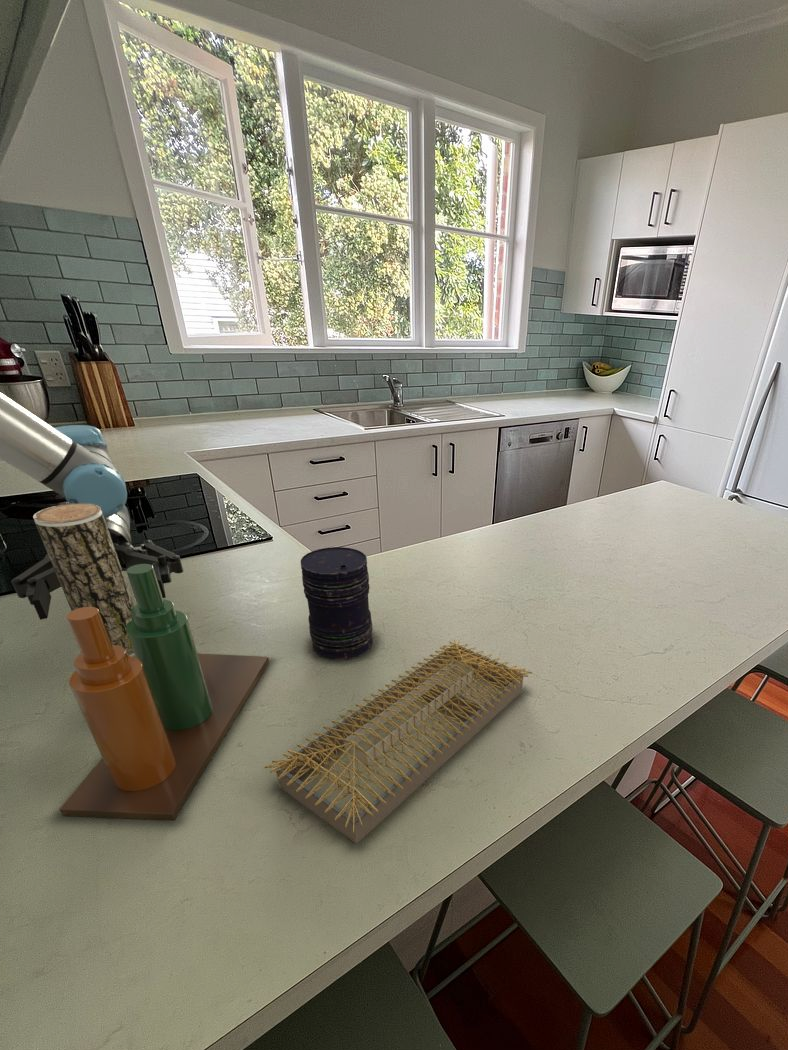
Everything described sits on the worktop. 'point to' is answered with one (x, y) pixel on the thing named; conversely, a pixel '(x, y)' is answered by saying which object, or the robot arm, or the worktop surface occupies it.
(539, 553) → the worktop surface
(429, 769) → the rafter model
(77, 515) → the bark cylinder
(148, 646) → the green bottle
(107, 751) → the amber bottle
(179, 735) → the walnut board
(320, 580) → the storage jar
